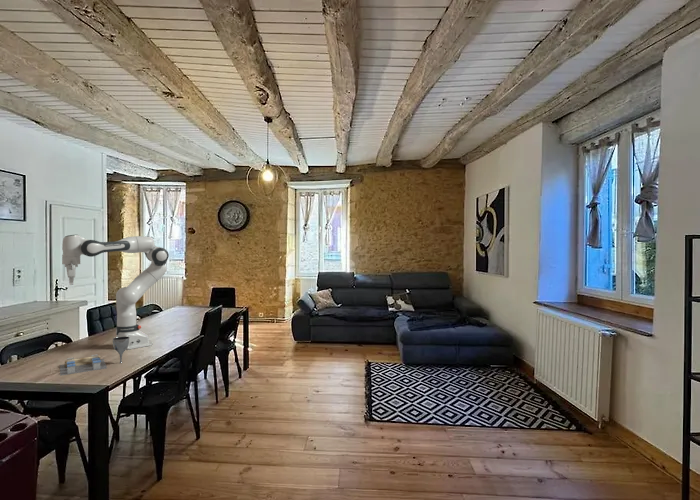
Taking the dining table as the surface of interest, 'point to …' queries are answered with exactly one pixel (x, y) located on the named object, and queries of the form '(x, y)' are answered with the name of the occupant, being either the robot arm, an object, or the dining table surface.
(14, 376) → the dining table surface
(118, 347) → the grey funnel
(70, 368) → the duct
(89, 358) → the bar
